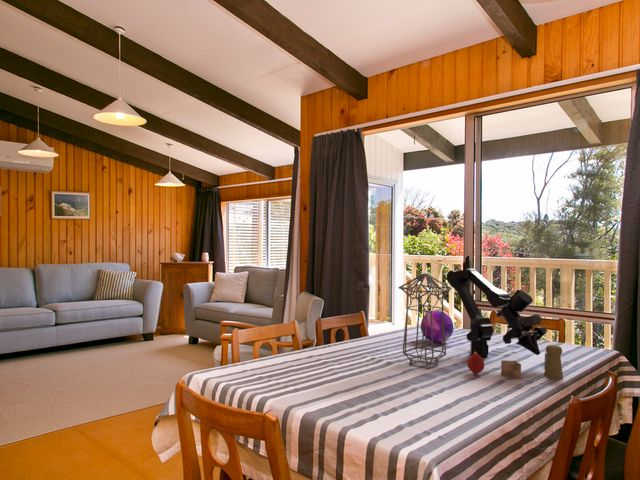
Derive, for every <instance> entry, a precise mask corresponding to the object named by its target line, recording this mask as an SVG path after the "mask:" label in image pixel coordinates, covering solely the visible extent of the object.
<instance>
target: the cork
mask: <svg viewBox="0 0 640 480" xmlns="http://www.w3.org/2000/svg"><path fill="white" fill-rule="evenodd" d="M545 351H546V353H547V360H546V366H545V365H544V373H543V377H546V378H549V379H553V380H562V379H564V375H563V374H564V373H563V365H562V359H561V355H563V349H562V347H561V346H560V345H557V344H548V345H546V347H545Z"/></svg>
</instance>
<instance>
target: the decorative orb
mask: <svg viewBox="0 0 640 480" xmlns="http://www.w3.org/2000/svg"><path fill="white" fill-rule="evenodd" d="M433 311H434V310H433ZM444 328H445V342H446V341H448V340H449V339H450V338H451V336H452V335H453V333H454V322H453V320H452V318H451V316H450V315H449V314H448V313H446V312H444ZM420 330H421V333H422V334H423V318H422V319H421V321H420ZM432 331H433V344H434V343H435V344H439V343H441V344H442V310H438V311H434V312H432ZM424 337H425V315H424ZM427 341H428V342H431V316H430V313H429V312H427ZM443 341H444V335H443Z"/></svg>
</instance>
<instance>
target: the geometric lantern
mask: <svg viewBox="0 0 640 480" xmlns="http://www.w3.org/2000/svg"><path fill="white" fill-rule="evenodd" d="M425 280H426V283H427V285H425V284H423V283H424V281H425ZM437 282H438V283H439V284H441V285H443V286H439V284H438V283H437ZM409 284H410V285H409ZM407 285H409V286H407ZM421 287H422V288H423V289H424V290H420V289H421ZM398 289H399V290H401V291H403V292H404V293H405V294H406V305H405V307H406V313H405V323H404V334H403V343H402V344H403V346H402V355H404V356H405V357H406V358H407V359H408V360H409V366H412V367H416V368H422V369H426V370H429V369H432V368H435V367H436V366H438V365H439V362H438V361H439V360H441V358H443V357H445V356H447V345H446V341H445V328H444V313H445V312H444V308H445V307H444V298H445V297H446V295H447V294H448V293H449V292H450V291H451V290H452V289H453V287H452V286H451V287H450V286H449V285H447V284H445V283H444V282H442V281H440V280H439V279H437V278H435V277H433V276H431V275H430V274H429V273H427V272H426V273H421V274H420V275H418V276H417V277H414V278H413V279H411V280H409V281H407V282H406V283H404V284H402V285H400V286H399V287H398ZM418 293H423V294H421V295H419V296H418ZM428 294H429V295H428ZM426 295H428V296H427V298H426V299H425V301H424V302H423V303H422V301H421V300H420V298H422V297H424V296H426ZM413 296H414V297H413ZM431 296H434V297H436V298H437V300H436V301H435V304H434V305H433V306H431V305H426V303H427V301H428V300H429V299H430V297H431ZM440 296H441V297H440ZM409 298H410V299H411V301H410V303H409ZM413 300H417V302H418V304H416V305H412V303H413ZM438 302H440V304H441V307H440V306H436V305H437V303H438ZM408 303H409V304H408ZM408 305H409V306H408ZM411 305H412V306H411ZM414 307H418V309H416V308H414ZM421 307H422V309H421ZM425 307H429V308H431V310H427V309H426V308H425ZM434 309H435V310H434ZM409 310H410V311H417V322H416V323H417V324H416V336H415V337H416V338H415V339H416V340H415V347H413V348H409V349H407V338H408V317H409ZM434 311H442V342H441V350H437V349H434V342H433V331H432V312H434ZM420 312H422V319H423V333H422V338H421V340H422V341H421V347H419V346H418V338H419V337H418V336H419V323H420ZM428 312H429V313H430V316H431V341H430V342H431V348H427V343H428V342H427V341H428V339H427V313H428ZM424 316H425V336H424ZM443 335H444V341H443ZM418 349H419V350H420V353H419V352H418ZM414 350H415V351H416V355H413V354H410V353H407V352H411V351H414ZM423 350H424V355H422V354H423ZM427 351H431V356H427ZM434 352H437V353H439V355H437V356H434ZM419 354H420V355H419ZM410 357H411V358H410ZM415 359H419V360H415ZM429 360H430V361H429ZM415 363H422V364H423V365H424V364H426V367H425V366H421V365H416V364H415ZM414 364H415V365H414ZM431 364H432V365H433V366H431ZM428 365H429V367H428Z"/></svg>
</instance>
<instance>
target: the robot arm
mask: <svg viewBox="0 0 640 480" xmlns="http://www.w3.org/2000/svg"><path fill="white" fill-rule="evenodd" d="M446 281H447V282H448V284H449V285H450V286H451V288H452V289H454V290H455V291H456V292H457V294H458V296H459V298H460V300H461V302H462V304H463V306H464V309H465V311H466V313H467V315H468V317H469V319H470V324H469V327H470V331H468V333H467V334H466V340H467V341H469V342H470V350H469V355H470V356H471V355H473V354H474V352H477V354H478V355H480V356H481V357H482V358H488V356H489V344H488V342H490V341H491V339H492V336H493V334H494V325H493V324H492V322H491V319H490V318H489V317H484V316H483V315H482V313H481V310H480V308H479V307H478V305H477V303H476V301H475V298H474V297H473V295H472V293H471V291H470V288H469V281H470V282H471V283H472V284H473V285H474V286H475V287H477V288H478V289H479V291H480V292H482V293H483V294H484V295H485V297H486V301H487V302H488V303H489V304H490V305H491V306H492V307H493V308H501V309H498V310H497V313H496V317H497V318H502V317H503V320H504V321H505V322H506V323H507V326H506V327H507V329H509V330H508V331H507V332H506V333H505V334H503V336H502V341H503V343H504V344H505V345H509V344H510V345H511V343H512V340H513V339H517V340H518V341H517V342H516V344H517V345H518V346H521V347H522V348H525V349H526V350H528V351H529V352H531V353H533V354H534V355H536V356H539V355H540V354H541V351H540V348H539V345H538V342H537V341H540V339H541V338H542V337H544V336H545V335H546V334H547V333H548V330H547V328H546V327H545V326H537V325H541V324H542V321H543V317H541V316H540V314H539V313H535V314H532V315H529V316H522V315H521V314H520V313H522V312H524V311H525V310H526V309H527V308H528V307H530V305H531V304H532V303H533V301H534V300H533V298H532V296H531V295H529V294H528V293H527V292H525V291H523V290H522V289H516V290H515V292H514V293H513V295H510V294H509V293H508V292H506V291H504V290H503V289H500V288H498V287H496V286H495V285H493V284H492V283H491V282H489V281H488V280H487V279H486V278H485V277H484V276H482V275H481V273H479V272H478V270H477V269H475V268H464V269H460V270H459V269H457V270H455V269H452V270H451V269H450V270H449V271H448V272H447V274H446ZM534 326H535V327H534Z"/></svg>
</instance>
